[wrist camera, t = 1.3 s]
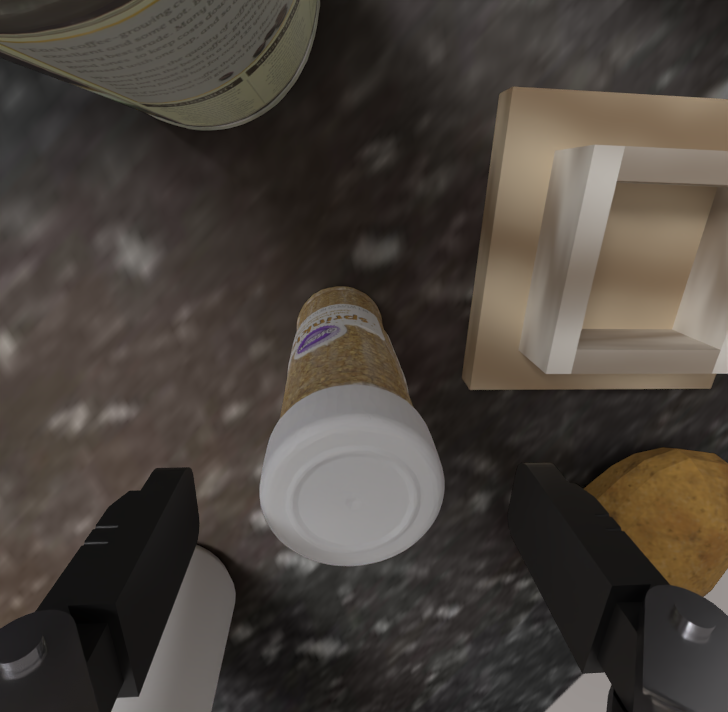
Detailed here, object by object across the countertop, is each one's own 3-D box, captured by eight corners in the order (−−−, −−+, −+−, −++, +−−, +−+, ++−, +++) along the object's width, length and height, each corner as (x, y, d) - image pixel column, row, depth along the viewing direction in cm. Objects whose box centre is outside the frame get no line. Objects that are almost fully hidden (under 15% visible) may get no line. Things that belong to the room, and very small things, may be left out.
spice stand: (499, 93, 19) (547, 67, 15) (784, 110, 20) (903, 90, 16) (461, 378, 24) (489, 418, 20) (689, 377, 25) (761, 415, 21)
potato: (503, 547, 29) (551, 648, 23) (609, 395, 25) (704, 466, 19) (607, 578, 31) (678, 678, 25) (721, 442, 27) (840, 520, 21)
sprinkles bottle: (340, 265, 21) (357, 381, 9) (399, 326, 23) (487, 499, 10) (277, 327, 22) (214, 509, 10) (339, 382, 24) (352, 601, 11)
